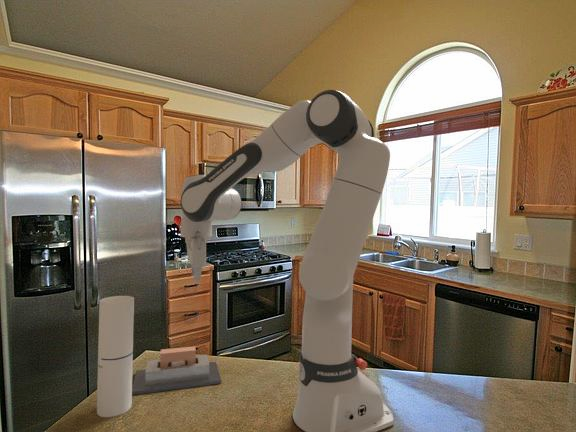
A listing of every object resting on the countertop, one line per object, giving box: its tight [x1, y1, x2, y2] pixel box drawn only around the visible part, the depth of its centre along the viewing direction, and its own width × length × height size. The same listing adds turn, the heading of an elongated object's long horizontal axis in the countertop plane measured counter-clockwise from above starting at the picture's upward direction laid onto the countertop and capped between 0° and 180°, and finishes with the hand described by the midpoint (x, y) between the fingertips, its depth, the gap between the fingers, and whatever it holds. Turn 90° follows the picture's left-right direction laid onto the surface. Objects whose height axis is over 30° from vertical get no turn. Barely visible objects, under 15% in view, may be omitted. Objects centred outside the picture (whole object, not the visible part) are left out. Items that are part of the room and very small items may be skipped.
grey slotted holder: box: [132, 354, 222, 396], centre depth 93 cm, size 22×12×4 cm, turn 109°
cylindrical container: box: [96, 295, 135, 418], centre depth 78 cm, size 7×7×25 cm
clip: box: [159, 345, 197, 368], centre depth 93 cm, size 9×3×7 cm, turn 108°
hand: (195, 278), depth 100 cm, fingers open, 8 cm apart
